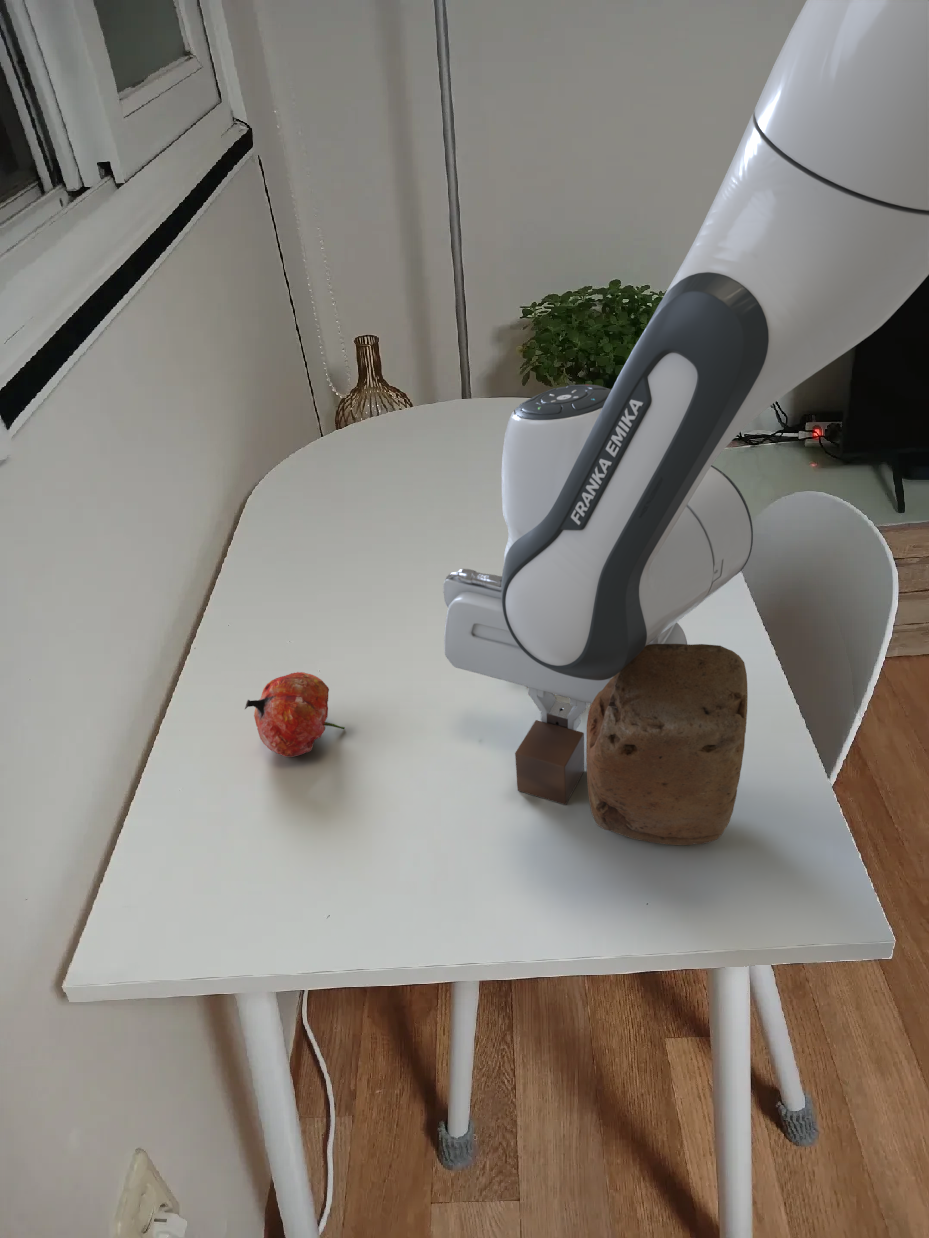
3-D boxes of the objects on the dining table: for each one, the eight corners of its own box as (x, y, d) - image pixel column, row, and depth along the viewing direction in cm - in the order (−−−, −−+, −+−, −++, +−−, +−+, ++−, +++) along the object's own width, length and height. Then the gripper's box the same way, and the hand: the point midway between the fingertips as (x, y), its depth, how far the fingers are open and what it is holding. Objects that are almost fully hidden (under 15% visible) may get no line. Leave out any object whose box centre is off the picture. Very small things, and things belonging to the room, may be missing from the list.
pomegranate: (324, 724, 93) (228, 694, 88) (361, 675, 89) (264, 641, 85) (328, 783, 87) (227, 755, 83) (369, 733, 84) (265, 700, 79)
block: (724, 765, 77) (753, 636, 61) (727, 854, 73) (759, 742, 57) (589, 758, 79) (582, 631, 63) (585, 845, 75) (577, 734, 59)
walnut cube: (584, 770, 82) (584, 732, 79) (565, 805, 79) (564, 766, 76) (537, 756, 84) (535, 719, 81) (517, 790, 81) (514, 752, 78)
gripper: (424, 584, 75) (436, 716, 83) (679, 644, 67) (665, 783, 75) (459, 545, 80) (468, 673, 88) (702, 597, 72) (687, 733, 80)
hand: (561, 725), depth 81 cm, fingers closed, pressing on walnut cube
